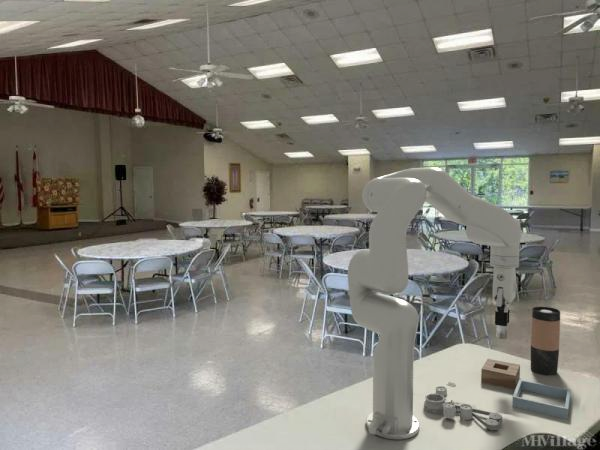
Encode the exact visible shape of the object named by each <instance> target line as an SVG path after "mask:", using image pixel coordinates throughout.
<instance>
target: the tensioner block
mask: <svg viewBox="0 0 600 450" xmlns="http://www.w3.org/2000/svg"><path fill="white" fill-rule="evenodd" d="M480 371H481V374H480V382H481V383H483V384H487V385H492V386H495V387H501V388H506V389H511V390H514V391H515V389H516V387H517V384H518V382H519V379H520V376H521V365H520V364H518V363H512V362H507V361H502V360H497V359H492V358H487V359H486V360H485V362H484V364H483V365H482V367H481V370H480Z"/></svg>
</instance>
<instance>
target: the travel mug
mask: <svg viewBox="0 0 600 450" xmlns="http://www.w3.org/2000/svg"><path fill="white" fill-rule="evenodd" d="M531 313H532V314H531V332H530V334H531V335H530V371H532V372H534V373H535V374H537V375H543V376H549V377H550V376H556V375H557V374H558V368H559V367H558V365H559V354H560V333H561V332H560V331H561V330H560V329H561V310H559V309H557V308H555V307H548V306H534V307H533V308H532V312H531Z"/></svg>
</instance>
